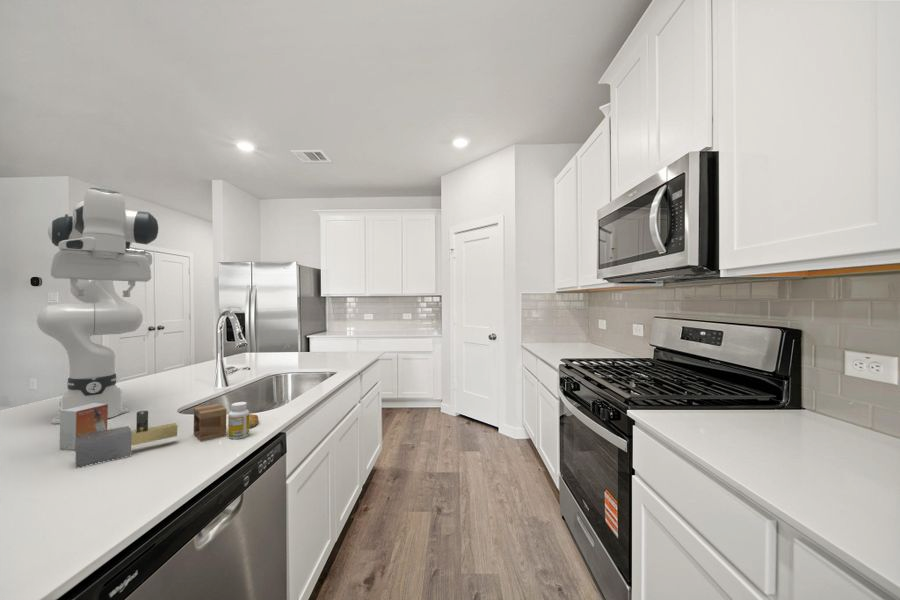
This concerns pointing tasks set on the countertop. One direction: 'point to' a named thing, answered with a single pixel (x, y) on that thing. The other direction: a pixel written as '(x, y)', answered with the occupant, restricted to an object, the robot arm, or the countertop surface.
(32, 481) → the countertop surface
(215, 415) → the socket
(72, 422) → the small box
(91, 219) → the robot arm
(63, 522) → the countertop surface
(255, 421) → the pastry
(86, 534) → the countertop surface
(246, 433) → the supplement bottle
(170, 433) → the yellow bar with knob
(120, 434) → the sleeve
